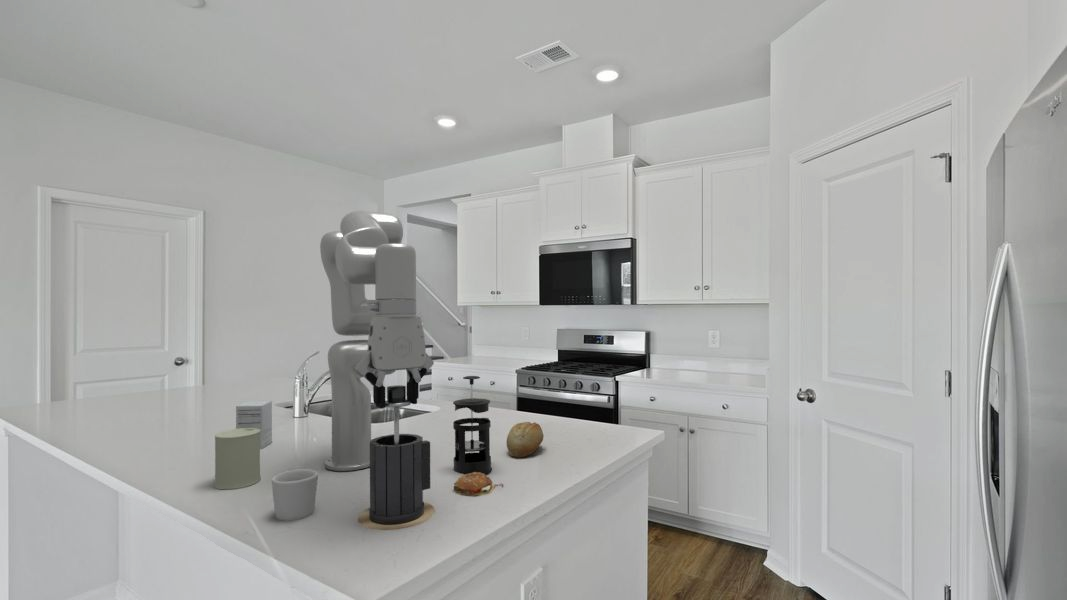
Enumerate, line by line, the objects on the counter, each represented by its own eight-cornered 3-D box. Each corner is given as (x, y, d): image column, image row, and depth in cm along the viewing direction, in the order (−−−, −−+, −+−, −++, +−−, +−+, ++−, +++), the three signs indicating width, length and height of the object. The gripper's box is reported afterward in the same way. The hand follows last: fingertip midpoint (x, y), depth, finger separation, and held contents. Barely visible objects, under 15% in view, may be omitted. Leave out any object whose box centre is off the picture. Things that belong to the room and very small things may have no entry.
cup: (287, 505, 102) (287, 465, 102) (328, 503, 103) (328, 463, 103) (263, 527, 91) (263, 483, 91) (309, 525, 92) (309, 481, 92)
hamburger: (506, 506, 101) (506, 476, 101) (439, 503, 103) (439, 473, 103) (518, 482, 115) (517, 456, 115) (458, 480, 117) (458, 454, 117)
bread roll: (548, 445, 145) (547, 417, 145) (537, 460, 131) (536, 429, 131) (515, 444, 147) (515, 416, 147) (501, 458, 133) (501, 428, 133)
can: (269, 478, 119) (269, 427, 119) (235, 491, 110) (235, 436, 110) (240, 474, 122) (240, 424, 122) (204, 487, 113) (204, 433, 113)
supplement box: (246, 443, 151) (246, 401, 152) (272, 442, 152) (272, 400, 152) (235, 450, 144) (235, 405, 144) (262, 449, 145) (262, 404, 145)
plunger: (375, 500, 95) (374, 386, 96) (405, 492, 99) (404, 383, 99) (387, 509, 90) (387, 390, 91) (418, 501, 94) (418, 386, 95)
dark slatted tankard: (361, 512, 95) (360, 439, 96) (417, 498, 103) (417, 429, 103) (381, 530, 88) (381, 450, 88) (440, 513, 95) (440, 439, 95)
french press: (476, 480, 115) (475, 379, 116) (443, 475, 119) (442, 377, 120) (502, 466, 126) (501, 373, 126) (470, 461, 130) (470, 372, 130)
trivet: (346, 516, 96) (346, 512, 96) (415, 498, 104) (415, 494, 104) (374, 542, 85) (374, 537, 85) (448, 519, 93) (448, 515, 93)
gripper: (357, 309, 87) (357, 414, 87) (445, 308, 98) (446, 402, 97) (343, 310, 93) (343, 408, 93) (428, 309, 104) (428, 397, 103)
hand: (396, 404), depth 95 cm, fingers open, 5 cm apart
